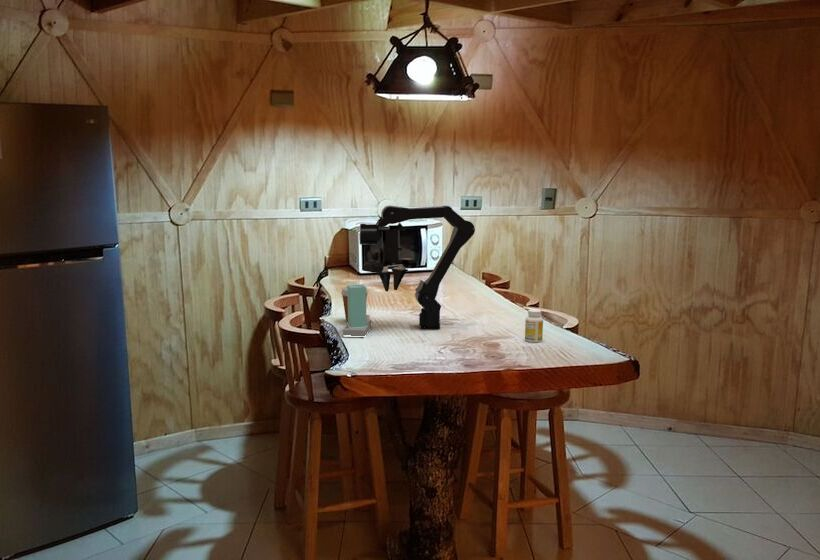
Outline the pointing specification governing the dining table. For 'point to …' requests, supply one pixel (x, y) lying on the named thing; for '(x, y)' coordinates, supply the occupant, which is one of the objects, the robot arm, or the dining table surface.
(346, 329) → the base plate
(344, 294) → the disposable coffee cup
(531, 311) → the supplement bottle
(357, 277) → the dining table surface
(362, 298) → the column
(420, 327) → the robot arm
